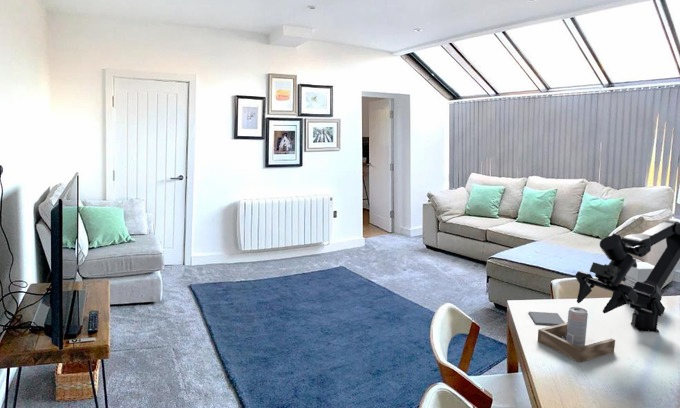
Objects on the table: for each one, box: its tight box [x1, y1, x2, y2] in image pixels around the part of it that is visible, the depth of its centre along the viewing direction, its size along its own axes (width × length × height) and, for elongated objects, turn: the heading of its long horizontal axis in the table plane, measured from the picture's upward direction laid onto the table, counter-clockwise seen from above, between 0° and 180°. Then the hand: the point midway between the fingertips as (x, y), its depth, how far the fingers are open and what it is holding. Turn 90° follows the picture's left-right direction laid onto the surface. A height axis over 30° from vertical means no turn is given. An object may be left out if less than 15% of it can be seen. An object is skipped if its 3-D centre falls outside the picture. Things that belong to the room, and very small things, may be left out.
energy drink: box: [565, 306, 588, 347], centre depth 151 cm, size 5×5×12 cm
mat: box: [528, 311, 566, 326], centre depth 173 cm, size 10×10×1 cm
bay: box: [537, 321, 616, 363], centre depth 151 cm, size 15×15×4 cm
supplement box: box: [622, 261, 655, 288], centre depth 188 cm, size 9×9×15 cm
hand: (590, 307), depth 152 cm, fingers open, 9 cm apart
